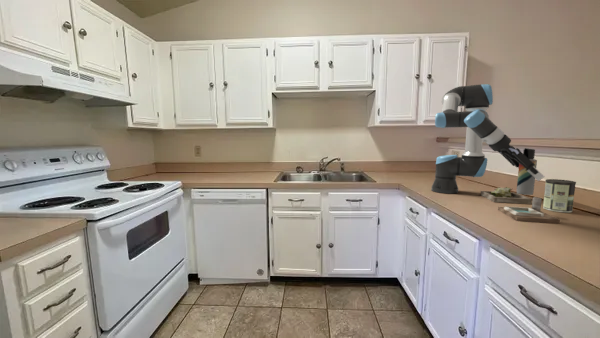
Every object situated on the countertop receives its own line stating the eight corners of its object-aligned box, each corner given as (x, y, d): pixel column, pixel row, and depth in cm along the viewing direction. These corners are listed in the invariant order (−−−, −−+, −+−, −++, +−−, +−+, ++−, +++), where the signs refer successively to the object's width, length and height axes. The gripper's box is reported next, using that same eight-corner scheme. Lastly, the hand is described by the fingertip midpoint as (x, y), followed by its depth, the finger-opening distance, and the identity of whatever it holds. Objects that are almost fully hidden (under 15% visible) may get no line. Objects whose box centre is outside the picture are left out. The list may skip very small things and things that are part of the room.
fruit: (508, 199, 149) (513, 187, 147) (509, 204, 142) (514, 191, 140) (489, 194, 154) (494, 182, 152) (488, 199, 147) (493, 186, 145)
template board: (498, 210, 125) (499, 194, 124) (535, 212, 121) (536, 196, 120) (516, 220, 109) (518, 203, 108) (559, 223, 106) (562, 205, 105)
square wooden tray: (480, 195, 156) (480, 191, 155) (513, 196, 152) (513, 192, 151) (493, 202, 139) (494, 197, 139) (531, 203, 135) (531, 199, 135)
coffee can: (561, 207, 129) (564, 179, 127) (578, 213, 119) (582, 183, 117) (537, 206, 131) (540, 178, 129) (552, 212, 121) (555, 182, 119)
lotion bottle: (519, 191, 118) (523, 147, 116) (535, 194, 113) (540, 148, 111) (514, 193, 115) (518, 148, 112) (530, 195, 110) (535, 148, 108)
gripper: (479, 144, 124) (516, 179, 122) (499, 146, 106) (542, 187, 104) (493, 133, 122) (531, 169, 120) (515, 133, 104) (560, 174, 102)
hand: (536, 177), depth 112 cm, fingers closed on lotion bottle, 5 cm apart
